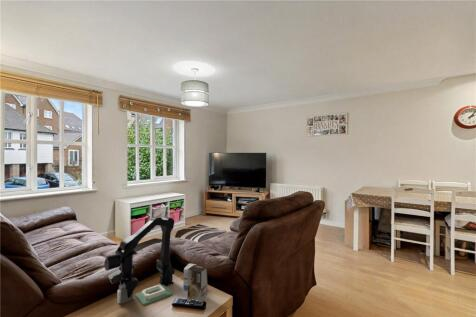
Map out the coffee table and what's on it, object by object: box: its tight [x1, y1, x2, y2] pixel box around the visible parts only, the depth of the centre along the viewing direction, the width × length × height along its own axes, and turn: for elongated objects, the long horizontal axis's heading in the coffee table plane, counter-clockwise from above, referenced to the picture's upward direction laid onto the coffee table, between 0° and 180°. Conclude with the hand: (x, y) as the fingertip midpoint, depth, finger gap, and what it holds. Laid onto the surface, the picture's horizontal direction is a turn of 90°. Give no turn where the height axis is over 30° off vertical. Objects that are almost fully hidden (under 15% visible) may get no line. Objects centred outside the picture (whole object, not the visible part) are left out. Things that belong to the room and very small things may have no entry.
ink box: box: [182, 263, 197, 291], centre depth 143 cm, size 8×5×12 cm, turn 168°
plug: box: [116, 283, 134, 305], centre depth 128 cm, size 7×4×8 cm, turn 131°
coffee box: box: [186, 264, 209, 302], centre depth 132 cm, size 9×6×16 cm
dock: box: [134, 283, 173, 307], centre depth 133 cm, size 16×12×3 cm
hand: (126, 293), depth 128 cm, fingers open, 9 cm apart
